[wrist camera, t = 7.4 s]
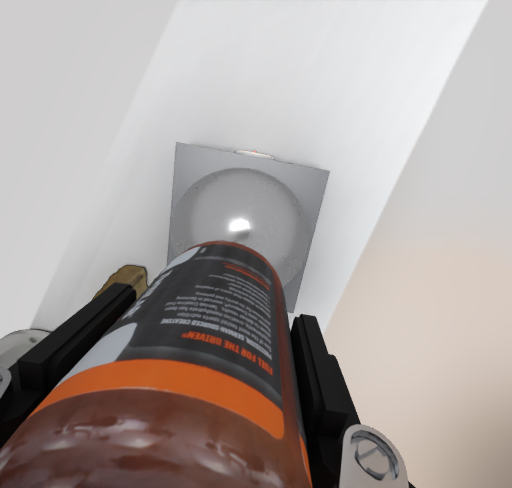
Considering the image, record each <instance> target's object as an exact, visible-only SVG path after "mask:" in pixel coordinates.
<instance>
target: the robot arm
mask: <svg viewBox="0 0 512 488" xmlns="http://www.w3.org/2000/svg"><path fill="white" fill-rule="evenodd" d="M136 296H137V292H136V290H135V289H133V287H132V285H130V284H124V283H118V282H115V283H113V284H112V285H111V286H109V287H108V288H107V289H106V290H104V291H103V292H102V293H101V294H99V295H98V296H97V297H96V298H94V299H93V300H92V301H91V302H89V303H88V304H87V305H85V306H84V307H83V308H82V309H80V310H79V311H78V312H77V313H75V314H74V315H73V316H72V317H70V318H69V319H68V320H67V321H65V322H64V323H63V324H62V325H60V326H59V327H58V328H57V329H55V330H54V331H53V332H51V333H48V332H44V331H39V330H28V329H26V330H19V331H15V332H12V333H10V334H8V335H6V336H5V337H3V338H2V339H0V450H1V448H2V447H3V446H4V445H5V443H6V442H7V441H8V440H9V439H10V437H11V436H12V435H13V434H14V432H15V431H16V430H17V429H18V428H19V426H20V425H21V424H22V423H23V422H24V421H25V420H26V419H27V418H28V416H29V415H30V414H31V413H32V412H33V411H34V410H35V409H36V408H37V407H38V406H39V405H40V404H41V402H42V401H43V400H44V399H45V398H46V397H47V396H48V395H49V393H50V392H51V391H52V390H53V389H54V388H55V386H56V385H57V384H58V383H59V382H60V381H61V380H62V379H63V378H64V377H65V376H66V375H67V374H68V373H69V372H70V371H71V370H72V369H73V367H74V366H75V365H76V364H77V363H78V362H79V361H80V360H81V359H82V357H83V356H84V355H85V354H86V353H87V352H88V351H89V350H90V349H91V348H92V347H93V346H94V345H95V344H96V343H97V341H98V340H99V339H100V338H101V337H102V336H103V335H104V334H105V333H106V331H107V330H108V329H109V328H110V327H111V326H112V325H114V324H115V323H116V321H117V320H118V319H119V318H120V317H121V316H122V315H123V314H124V313H125V312H126V311H127V309H128V308H130V306H131V305H132V304H133V303H134V302H135V301H136ZM290 334H291V342H292V349H293V356H294V362H295V369H296V376H297V383H298V390H299V398H300V404H301V410H302V419H303V425H304V431H305V436H306V444H307V453H308V462H309V469H310V475H311V481H312V488H415V487H414V486H413V485H412V484H411V483H410V482H409V481H408V478H407V471H406V468H405V464H404V461H403V459H402V457H401V455H400V453H399V452H398V450H397V449H396V447H395V446H394V445H393V444H392V443H391V441H390V440H389V439H387V438H386V437H385V436H384V435H383V434H382V433H380V432H379V431H377V430H375V429H374V428H371V427H369V426H366V425H361V423H360V420H359V418H358V415H357V412H356V410H355V407H354V404H353V402H352V399H351V396H350V393H349V391H348V388H347V385H346V383H345V380H344V377H343V375H342V372H341V370H340V367H339V364H338V361H337V359H336V357H335V356H334V355H330V354H328V351H327V348H326V345H325V342H324V339H323V336H322V333H321V331H320V328H319V325H318V322H317V319H316V317H315V316H310V315H304V314H301V315H300V316H299V317H295V318H294V321H293V325H292V329H291V333H290Z"/></svg>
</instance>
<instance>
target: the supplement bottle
mask: <svg viewBox="0 0 512 488" xmlns="http://www.w3.org/2000/svg"><path fill="white" fill-rule="evenodd" d="M0 488H312V481H311V475H310V469H309V462H308V453H307V444H306V436H305V431H304V425H303V419H302V410H301V404H300V398H299V390H298V383H297V376H296V369H295V362H294V356H293V349H292V342H291V334H290V327H289V320H288V314H287V308H286V301H285V296H284V291H283V288H282V284H281V281H280V279H279V276H278V274H277V272H276V271H275V269H274V268H273V266H272V265H271V264H270V262H269V261H268V260H267V259H266V258H265V257H263V256H262V255H261V254H259V253H258V252H256V251H255V250H253V249H251V248H249V247H247V246H244V245H242V244H239V243H235V242H230V241H209V242H204V243H202V244H198V245H195V246H193V247H191V248H189V249H187V250H185V251H184V252H182V253H181V254H180V255H179V256H178V257H176V258H175V259H174V260H173V261H172V262H171V263H170V264H169V265H168V266H167V267H166V268H165V269H164V270H163V271H162V272H161V273H160V274H159V276H158V277H157V278H156V279H154V281H153V282H152V283H151V285H150V286H149V287H148V288H147V289H146V290H145V291H144V292H143V293H142V294H141V295H140V297H139V298H138V299H137V300H136V301H135V302H134V303H133V304H132V305H131V306H130V308H128V309H127V311H126V312H125V313H124V314H123V315H122V316H121V317H120V318H119V319H118V320H117V321H116V323H115V324H114V325H112V326H111V327H110V328H109V329H108V330H107V331H106V333H105V334H104V335H103V336H102V337H101V338H100V339H99V340H98V341H97V343H96V344H95V345H94V346H93V347H92V348H91V349H90V350H89V351H88V352H87V353H86V354H85V355H84V356H83V357H82V359H81V360H80V361H79V362H78V363H77V364H76V365H75V366H74V367H73V369H72V370H71V371H70V372H69V373H68V374H67V375H66V376H65V377H64V378H63V379H62V380H61V381H60V382H59V383H58V384H57V385H56V386H55V388H54V389H53V390H52V391H51V392H50V393H49V395H48V396H47V397H46V398H45V399H44V400H43V401H42V402H41V404H40V405H39V406H38V407H37V408H36V409H35V410H34V411H33V412H32V413H31V414H30V415H29V416H28V418H27V419H26V420H25V421H24V422H23V423H22V424H21V425H20V426H19V428H18V429H17V430H16V431H15V432H14V434H13V435H12V436H11V437H10V439H9V440H8V441H7V442H6V443H5V445H4V446H3V447H2V448H1V450H0Z"/></svg>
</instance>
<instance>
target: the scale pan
mask: <svg viewBox="0 0 512 488" xmlns="http://www.w3.org/2000/svg"><path fill="white" fill-rule="evenodd" d="M308 238H309V233H308V225H307V220H306V217H305V214H304V211H303V209H302V207H301V205H300V203H299V201H298V200H297V199H296V197H295V196H294V195H293V193H292V192H291V191H290V190H289V189H288V188H287V187H286V186H285V185H284V184H282V183H281V182H280V181H278V180H277V179H275V178H274V177H272V176H270V175H268V174H266V173H263V172H261V171H257V170H253V169H246V168H230V169H224V170H220V171H216V172H213V173H211V174H209V175H206V176H204V177H203V178H201V179H200V180H198V181H197V182H195V183H194V184H193V185H192V186H191V187H190V188H189V189H188V190H187V191H186V192H185V193H184V194H183V196H182V197H181V199H180V201H179V202H178V204H177V206H176V209H175V211H174V214H173V218H172V223H171V242H172V248H173V251H174V254H175V257H178V256H179V255H180V254H181V253H182V252H184V251H185V250H187V249H189V248H191V247H193V246H195V245H198V244H202V243H204V242H209V241H230V242H235V243H239V244H242V245H244V246H247V247H249V248H251V249H253V250H255V251H256V252H258V253H259V254H261V255H262V256H263V257H265V258H266V259H267V260H268V261H269V262H270V264H271V265H272V266H273V268H274V269H275V271H276V272H277V274H278V276H279V279H280V281H281V284H282V288H283V287H284V286H285V285H286V284H287V283H289V282H290V281H291V280H292V278H293V277H294V276H295V275H296V274H297V272H298V270H299V269H300V267H301V265H302V263H303V261H304V259H305V256H306V253H307V248H308Z"/></svg>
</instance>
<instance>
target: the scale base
mask: <svg viewBox="0 0 512 488" xmlns="http://www.w3.org/2000/svg"><path fill="white" fill-rule="evenodd" d="M230 168H246V169H253V170H257V171H261V172H263V173H266V174H268V175H270V176H272V177H274V178H275V179H277V180H278V181H280V182H281V183H282V184H284V185H285V186H286V187H287V188H288V189H289V190H290V191H291V192H292V193H293V195H294V196H295V197H296V199H297V200H298V201H299V203H300V205H301V207H302V209H303V211H304V214H305V217H306V220H307V225H308V233H309V238H308V248H307V253H306V256H305V259H304V261H303V263H302V265H301V267H300V269H299V270H298V272H297V274H296V275H295V276H294V277H293V278H292V280H291V281H290V282H289V283H287V284H286V285H285V286H284V287H283V291H284V296H285V301H286V308H287V312H289V313H293V312H294V308H295V304H296V300H297V296H298V292H299V288H300V285H301V281H302V277H303V273H304V269H305V265H306V261H307V257H308V254H309V250H310V246H311V242H312V238H313V234H314V230H315V226H316V222H317V219H318V215H319V211H320V207H321V203H322V199H323V195H324V191H325V188H326V184H327V180H328V176H329V172H330V171H327V170H322V169H317V168H311V167H306V166H301V165H295V164H290V163H285V162H279V161H275V159H274V158H272V156H269V155H265V154H260V153H257V152H256V151H253V152H249V151H243V150H237V151H234V153H231V152H226V151H221V150H216V149H210V148H205V147H200V146H194V145H189V144H184V143H178V142H176V150H175V163H174V177H173V190H172V204H171V217H170V231H169V244H168V258H167V266H168V265H169V264H170V263H171V262H172V261H173V260H174V259H175V258H176V257H175V254H174V251H173V248H172V242H171V223H172V218H173V214H174V211H175V209H176V206H177V204H178V202H179V201H180V199H181V197H182V196H183V194H184V193H185V192H186V191H187V190H188V189H189V188H190V187H191V186H192V185H193V184H194V183H195V182H197V181H198V180H200V179H201V178H203V177H204V176H206V175H209V174H211V173H213V172H216V171H220V170H224V169H230Z"/></svg>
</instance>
